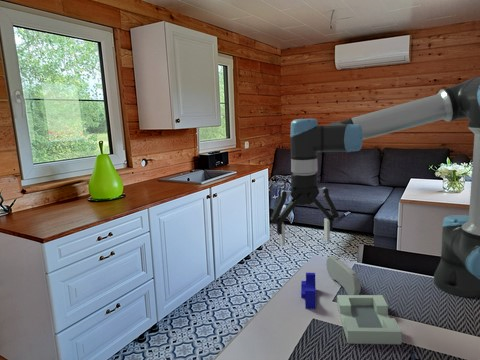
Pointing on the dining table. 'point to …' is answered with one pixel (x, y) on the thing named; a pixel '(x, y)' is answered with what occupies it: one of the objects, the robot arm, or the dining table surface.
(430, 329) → the dining table surface
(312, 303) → the cable clip
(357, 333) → the holder
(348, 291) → the slide sandal
